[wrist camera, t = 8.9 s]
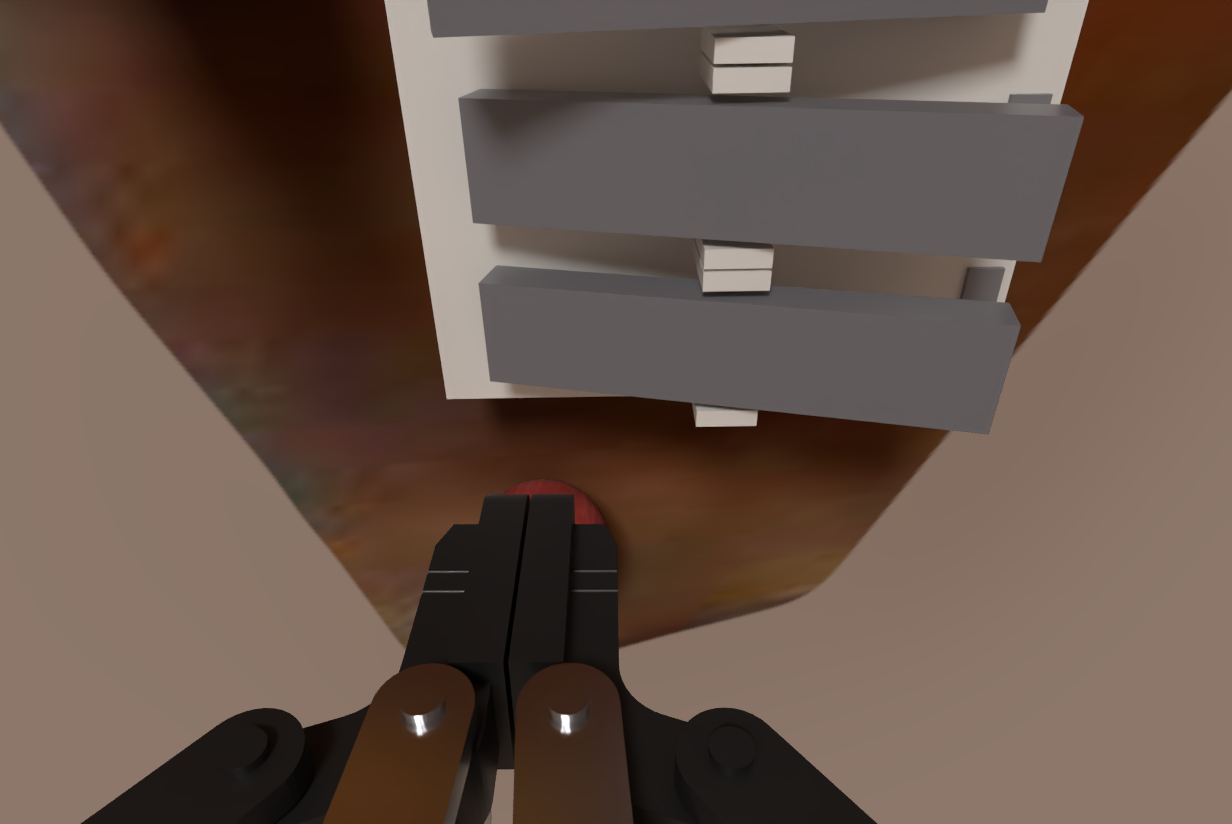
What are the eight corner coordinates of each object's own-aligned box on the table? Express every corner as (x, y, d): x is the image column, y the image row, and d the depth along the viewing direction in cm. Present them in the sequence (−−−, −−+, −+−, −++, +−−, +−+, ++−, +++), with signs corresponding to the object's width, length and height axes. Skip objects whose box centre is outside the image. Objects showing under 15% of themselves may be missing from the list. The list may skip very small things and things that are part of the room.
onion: (631, 479, 37) (636, 602, 30) (570, 554, 39) (561, 682, 32) (527, 425, 35) (507, 542, 28) (470, 507, 37) (438, 632, 31)
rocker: (480, 88, 23) (458, 98, 21) (1067, 104, 19) (1084, 116, 18) (492, 207, 24) (472, 223, 23) (1028, 241, 21) (1040, 262, 20)
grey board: (496, 265, 25) (478, 283, 24) (1009, 302, 22) (1020, 325, 21) (506, 359, 27) (490, 381, 26) (979, 406, 24) (988, 434, 23)
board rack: (398, -191, 23) (302, -251, 16) (1054, -203, 23) (1253, -268, 16) (468, 339, 33) (428, 450, 25) (931, 331, 32) (1021, 441, 25)
